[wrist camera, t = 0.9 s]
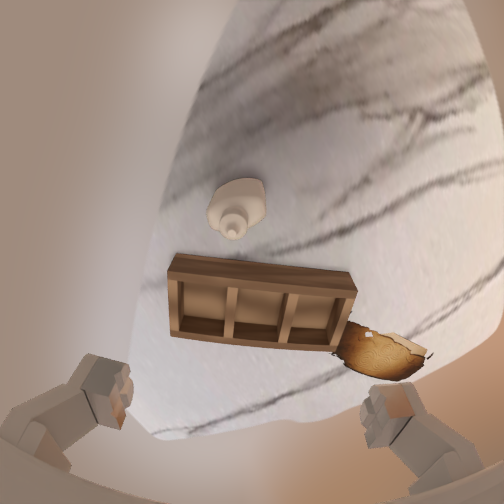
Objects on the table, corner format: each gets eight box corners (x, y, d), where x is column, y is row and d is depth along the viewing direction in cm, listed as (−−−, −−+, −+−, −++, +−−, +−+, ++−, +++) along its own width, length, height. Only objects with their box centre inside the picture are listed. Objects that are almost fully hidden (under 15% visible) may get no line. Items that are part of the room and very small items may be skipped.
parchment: (435, 352, 47) (436, 355, 46) (400, 385, 51) (401, 388, 50) (344, 304, 42) (346, 307, 41) (305, 347, 46) (306, 351, 45)
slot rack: (176, 253, 38) (167, 270, 34) (348, 272, 39) (357, 291, 35) (177, 316, 43) (170, 336, 39) (329, 331, 44) (335, 351, 40)
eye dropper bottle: (258, 215, 36) (258, 265, 25) (212, 204, 35) (192, 249, 24) (268, 181, 34) (274, 217, 23) (220, 169, 33) (202, 199, 23)
